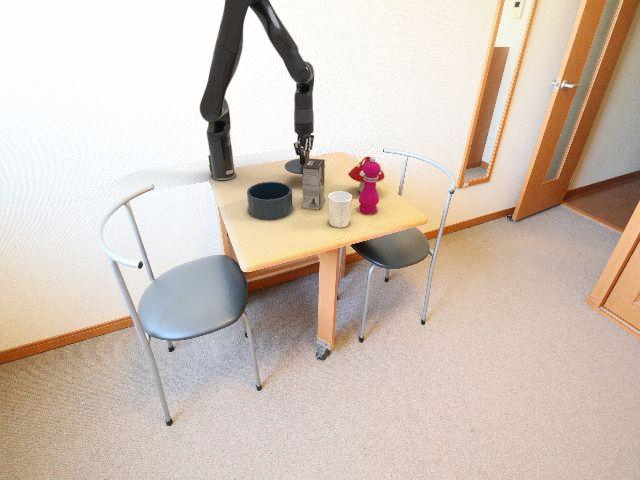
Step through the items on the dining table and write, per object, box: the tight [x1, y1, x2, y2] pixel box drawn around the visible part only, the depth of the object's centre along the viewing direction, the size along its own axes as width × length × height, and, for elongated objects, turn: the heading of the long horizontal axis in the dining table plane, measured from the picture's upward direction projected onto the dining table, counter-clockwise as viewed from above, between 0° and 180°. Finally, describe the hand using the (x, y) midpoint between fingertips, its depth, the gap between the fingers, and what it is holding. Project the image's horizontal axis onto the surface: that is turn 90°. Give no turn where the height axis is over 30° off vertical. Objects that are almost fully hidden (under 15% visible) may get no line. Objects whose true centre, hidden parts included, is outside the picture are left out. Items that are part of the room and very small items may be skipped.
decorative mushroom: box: [347, 156, 385, 193], centre depth 138 cm, size 14×14×15 cm
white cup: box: [327, 190, 353, 228], centre depth 119 cm, size 8×8×10 cm
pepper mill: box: [358, 156, 382, 215], centre depth 124 cm, size 7×7×20 cm
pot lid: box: [284, 150, 308, 175], centre depth 144 cm, size 17×17×7 cm
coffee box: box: [301, 158, 326, 210], centre depth 129 cm, size 9×6×16 cm
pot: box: [246, 181, 293, 221], centre depth 127 cm, size 16×16×8 cm
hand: (304, 162), depth 145 cm, fingers closed on pot lid, 3 cm apart
